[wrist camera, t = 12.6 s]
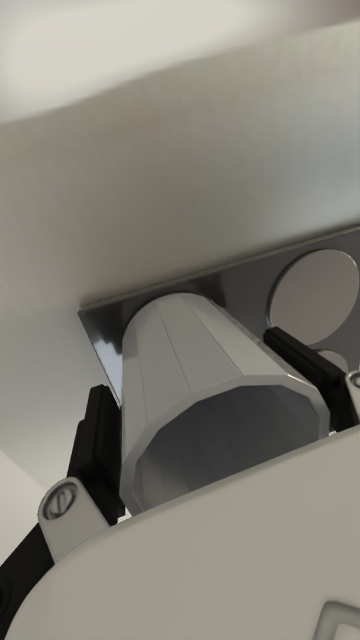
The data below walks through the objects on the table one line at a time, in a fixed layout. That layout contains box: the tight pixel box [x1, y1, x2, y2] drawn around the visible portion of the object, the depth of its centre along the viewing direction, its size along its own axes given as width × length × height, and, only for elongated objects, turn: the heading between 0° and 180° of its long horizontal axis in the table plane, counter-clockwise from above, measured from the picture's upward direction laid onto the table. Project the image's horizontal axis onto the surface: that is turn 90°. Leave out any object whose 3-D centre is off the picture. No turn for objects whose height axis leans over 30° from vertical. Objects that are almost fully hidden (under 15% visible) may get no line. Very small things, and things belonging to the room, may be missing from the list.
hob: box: [77, 225, 360, 403], centre depth 17 cm, size 20×16×1 cm
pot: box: [119, 293, 330, 517], centre depth 11 cm, size 7×7×8 cm
